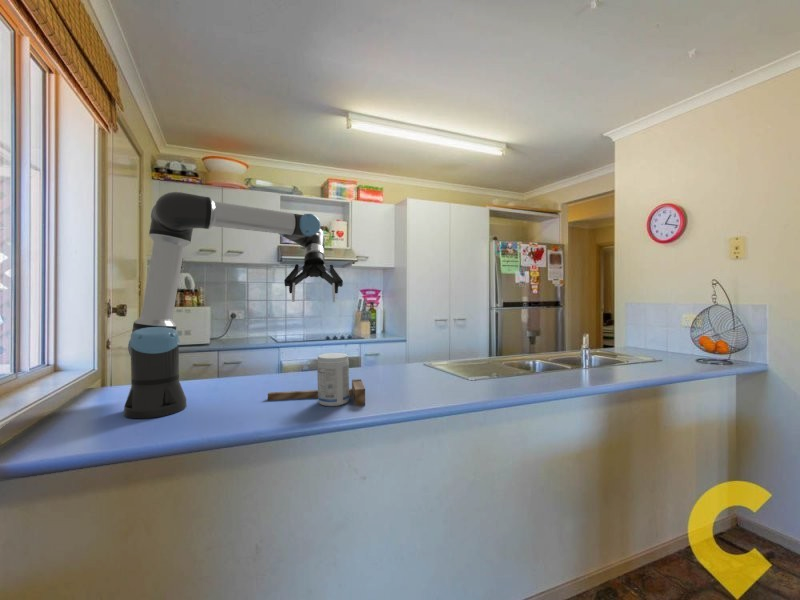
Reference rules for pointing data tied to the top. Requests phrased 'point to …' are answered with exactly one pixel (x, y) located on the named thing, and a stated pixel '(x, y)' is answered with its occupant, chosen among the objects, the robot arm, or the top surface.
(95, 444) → the top surface
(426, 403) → the top surface
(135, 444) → the top surface
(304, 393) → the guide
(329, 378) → the supplement tub
